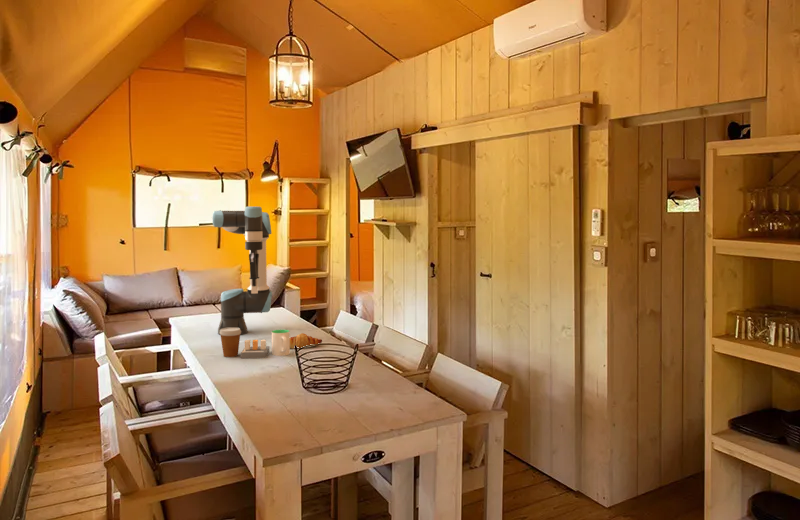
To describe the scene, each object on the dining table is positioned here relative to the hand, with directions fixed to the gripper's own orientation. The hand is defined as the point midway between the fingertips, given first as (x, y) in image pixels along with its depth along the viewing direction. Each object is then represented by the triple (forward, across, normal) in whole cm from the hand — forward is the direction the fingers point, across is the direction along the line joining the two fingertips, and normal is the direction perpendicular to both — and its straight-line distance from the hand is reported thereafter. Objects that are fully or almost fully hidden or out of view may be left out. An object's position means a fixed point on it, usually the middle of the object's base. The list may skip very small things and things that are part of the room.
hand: (254, 293), depth 267 cm
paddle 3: (+26, 0, +4) cm, 26 cm away
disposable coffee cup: (+29, 0, -11) cm, 31 cm away
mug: (+29, 0, +12) cm, 31 cm away
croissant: (+29, -15, +19) cm, 38 cm away
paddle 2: (+26, 0, 0) cm, 26 cm away
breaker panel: (+28, 0, 0) cm, 28 cm away
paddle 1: (+26, 0, -4) cm, 26 cm away
